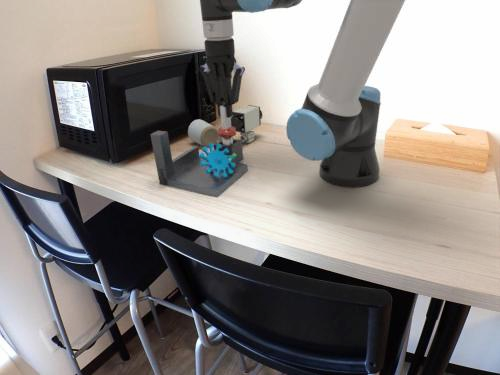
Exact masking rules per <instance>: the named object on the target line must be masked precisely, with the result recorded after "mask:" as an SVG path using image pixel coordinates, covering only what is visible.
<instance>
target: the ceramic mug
mask: <svg viewBox="0 0 500 375" xmlns="http://www.w3.org/2000/svg"><path fill="white" fill-rule="evenodd" d="M187 129H188V130H187V134H188V138H189V139H190V140H191V141H193V142H194V143H196V144H198V145H200V146H202V147H205V146H206V147H207V148H209V147H208V145H209V143H212V144H216V143H217V142H219V141H220V140H222V137H220V136H219V135H218V129H217V128H216V127H215V126H214V125H213V124H210V123H208V122H207V121H205V120H203V119H199V118H198V119H194V120H193V121H192V122H190V125H189V126H188V128H187Z"/></svg>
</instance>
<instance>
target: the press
mask: <svg viewBox="0 0 500 375" xmlns="http://www.w3.org/2000/svg"><path fill="white" fill-rule="evenodd" d="M150 139H151V140H150V141H151V145H152V151H153V156H154V162H155V165H156V172H157V176H158V183H159V185H162V186H166V187H170V188H176V189H179V190H184V191H189V192H192V193H198V194H202V195H206V196H209V197H210V196H211V197H215V198H218V197H219V196H221V195H222V194H223V193H224V192H226V190H227V189H228V188H230V187H231V186H232V185H233V184H234V183H235V182H237V181H238V180H239V179H240V178H241V177H243V176H244V175H245V174H246V173H248V171H249V170H248V169H249V168H248V163H244V162H243V163H241V162H242V161H243V160H244V148H243V142H242V140H240V139H237V138H236V139H235V138H233V144H232V145H231V146H228V145H223V141H222V140H220V141H219V140H218V141H216V143H215V144H214V147H213V150H216V146H217V144H220V145H222V147H221V148H220V149H218V150H219V151H224V149H225V148H227V149H228V150H229V152H228V153H227V154H225V153H224V154H225V155H227V156H230V155H232V154H233V153H235V154H236V157H235V158H234V159H233V161H232V163H235V164H236V165H235V167H234V168H231V167H230V165H229V164H228V166H229V168H230V169H232V170H233V173H232V174H230V175H229V174H228V170H227V169H225V172H226V174H227V177H226V178H222V177H221V175H222V174H223V172H222V171H219V176H218V178H215V177H214V176H213V174H214V173H215V172H217V171H216V170H212V171H211V172H210V173H209V174H207V173H206V171H205V170H206V169H207V168H209V167H210V166H201V164H200V162H201V161H202V160H203V161H205V162H206V163H208V162H207V161H206V160H205V159H202V158H199V155H200V149H199V148H200V147H199V146H198V145H193V146H192V147H191V148H190V149H188V150H186V151H184V152H183V153H181V154H180V155H177V156H176V157H174V158H173V157H172V150H171V144H170V139H169V133H168V131H165V130H163V131H162V130H157V131H153V132H152V133H150Z"/></svg>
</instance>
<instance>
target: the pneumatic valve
mask: <svg viewBox="0 0 500 375" xmlns="http://www.w3.org/2000/svg"><path fill="white" fill-rule="evenodd" d="M232 111H233V110H232ZM262 118H263V111H262V110H261V107H260V106H259V105H258V106H256V105H252V104H248V105H244V106H243V107H239V108H237V109H235V110H234V111H233V115H232V117H231V126H233V127H235V128H236V133H239V135H240V137H239V140H242V143H246V144H249V145H250V143H252V142H254V141H255V135H256V133H255V130H254V129H256V128H257V127H259V126H261V122H262V121H261V120H262Z"/></svg>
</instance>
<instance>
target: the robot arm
mask: <svg viewBox="0 0 500 375" xmlns="http://www.w3.org/2000/svg"><path fill="white" fill-rule="evenodd" d="M302 1H303V0H199V4H200V5H199V6H200V13H201V21H202V22H201V23H202V31H203V37H204V38H205V40H204V42H203V43H204V51H205V52H204V53H205V56H206V60H205V64H203V65H201V66H200V67H199V68H198V70H199V72H200V73H201V75H202V77H203V80H204V85H205V88H206V91H207V94H208V97H209V100H210V103H212V104H215V105H216V106H217V115H218V117H219V118H220V120H221V121H220V122H221V127H222V129H224V130H227V129H229V128H230V127H231V117H232V115H233V105H235V104H237V103H238V102H239V99H240V91H241V85H242V78H243V74H245V71H246V68H245V67H244V66H240V64H238V63H237V59H236V57H235V53H236V51H235V50H236V49H235V39H234V38H233V36H234V33H235V32H234V23H233V13H235V12H236V13H252V14H254V13H260V12H265V11H267V10H275V9H289V8H293V7H295V6H298V5H299V4H301V2H302ZM405 2H406V0H350V1H349V4H348V5H347V9H346V11H345V13H344V17H343V19H342V22H341V24H340V26H339V30H338V33H337V35H336V37H335V40H334V42H333V45H332V49H331V50H330V53H329V55H328V59H327V61H326V64H325V67H324V69H323V71H322V74H321V77H320V80H319V82H318V83H317V84H315V85H312V86H310V87H309V89H308V91H307V92H306V96H305V98H304V102H303V103H302V107H301V108H299V109H296V110H294V112H293V113H292V114H290V116H289V117H288V119H287V121H286V128H285V129H286V136H287V138H288V140H289V142H290V145H291V147H292V149H293V150H294V151H295V152H296V153H297V154H298V155H299V156H300V157H302V158H304V159H306V160H308V161H314V162H315V161H320V164H319V175H320V176H319V177H321V179H322V180H324V181H326V182H327V183H330V184H332V185H336V186H340V187H347V188H357V187H358V188H359V187H366V186H369V185H371V184H374V183H375V182H377V181H378V179H379V174H380V164H379V160H378V157H377V152H376V141H377V140H376V139H377V134H378V133H377V132H378V125H379V124H378V123H379V115H380V109H381V108H380V107H381V104H382V103H381V91H380V90H379V89H378V88H376V87H374V86H368V85H366V83H367V82H368V80H369V77H370V76H371V73H372V71H373V68H374V67H375V65H376V64H377V63H376V62H377V60H378V58H379V56H380V54H381V52H382V50H383V48H384V46H385V44H386V42H387V39H388V37H389V36H390V33H391V32H392V28H394V27H393V26H394V25H395V23H396V21H397V19H398V16H399V14H400V12H401V10H402V8H403V6H404V4H405ZM232 73H233V74H232ZM232 75H233V76H232Z"/></svg>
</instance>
